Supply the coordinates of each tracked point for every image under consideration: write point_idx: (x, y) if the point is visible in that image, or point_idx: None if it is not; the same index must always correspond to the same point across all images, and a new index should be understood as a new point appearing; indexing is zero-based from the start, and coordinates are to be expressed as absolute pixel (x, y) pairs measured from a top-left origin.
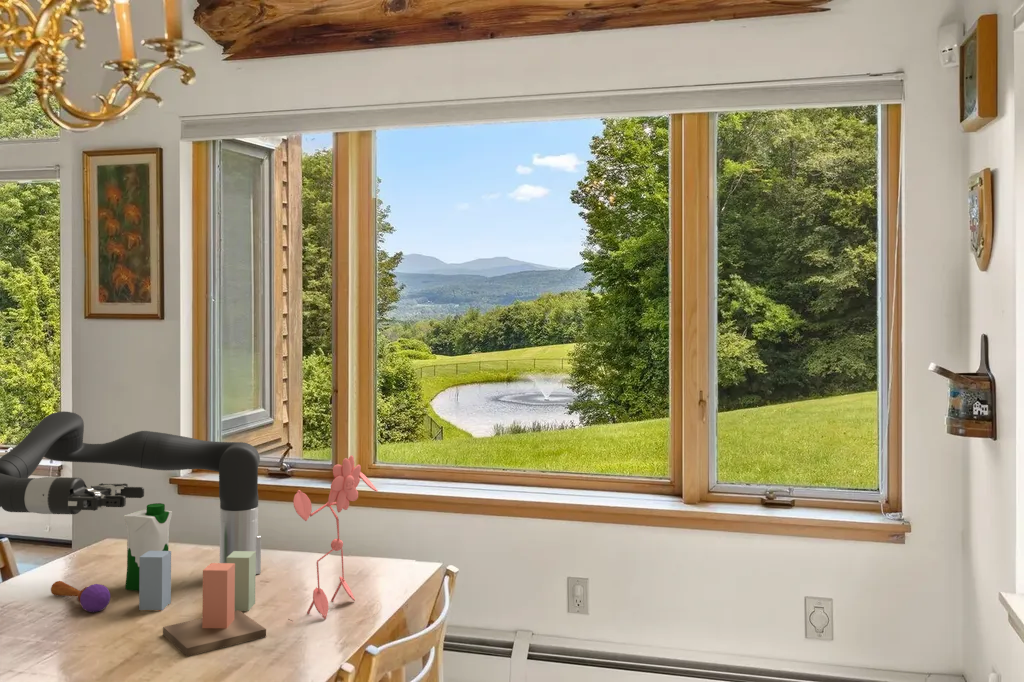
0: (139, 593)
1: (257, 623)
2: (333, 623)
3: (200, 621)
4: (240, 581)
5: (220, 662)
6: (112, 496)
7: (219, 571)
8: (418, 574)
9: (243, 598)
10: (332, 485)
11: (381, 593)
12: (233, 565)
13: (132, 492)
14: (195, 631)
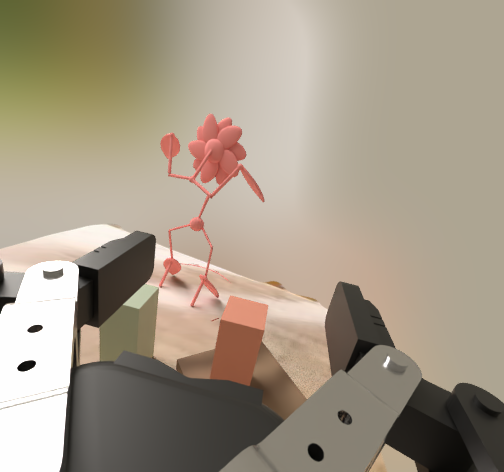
0: None
1: None
2: (228, 295)
3: None
4: (149, 328)
5: None
6: (368, 317)
7: (266, 313)
8: (119, 235)
9: (150, 346)
10: (245, 153)
11: (158, 259)
12: (237, 298)
13: (126, 276)
14: None
